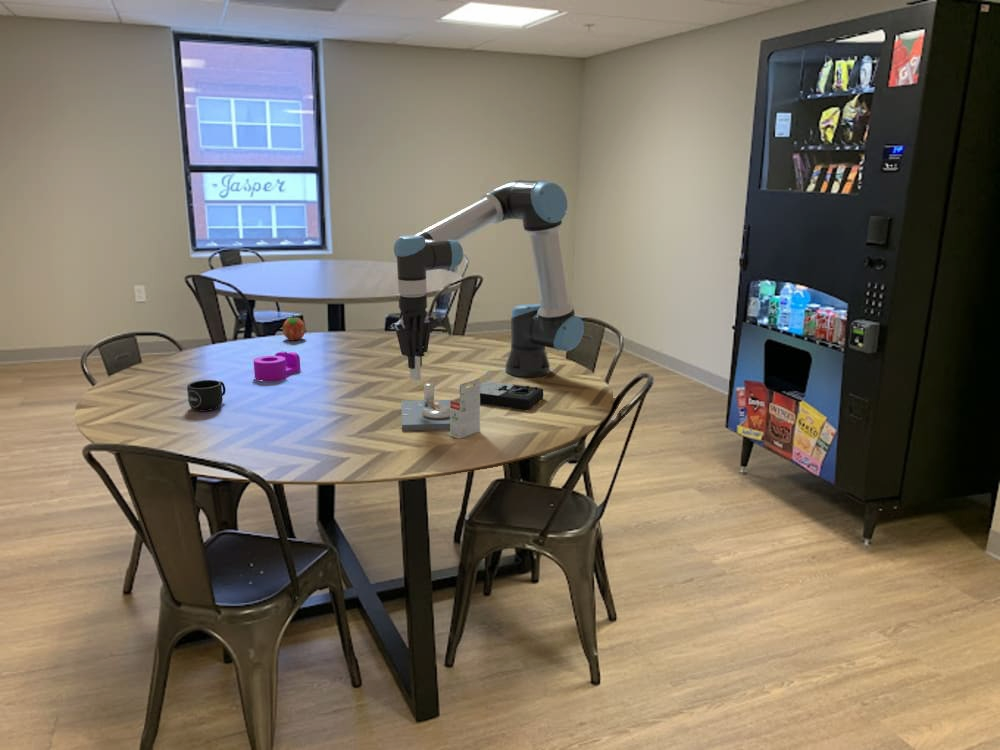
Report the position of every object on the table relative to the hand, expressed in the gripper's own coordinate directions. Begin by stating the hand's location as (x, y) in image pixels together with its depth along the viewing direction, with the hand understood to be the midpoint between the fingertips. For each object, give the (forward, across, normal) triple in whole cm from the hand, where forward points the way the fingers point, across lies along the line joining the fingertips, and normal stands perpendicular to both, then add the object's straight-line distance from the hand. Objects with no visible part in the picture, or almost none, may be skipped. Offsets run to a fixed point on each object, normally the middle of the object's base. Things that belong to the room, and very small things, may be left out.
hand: (415, 378), depth 208 cm
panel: (+11, -3, +6) cm, 12 cm away
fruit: (+11, -28, -103) cm, 108 cm away
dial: (+9, -2, +5) cm, 11 cm away
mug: (+10, +37, -47) cm, 60 cm away
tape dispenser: (+11, +6, -63) cm, 64 cm away
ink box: (+11, +2, +21) cm, 23 cm away
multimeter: (+12, -28, +9) cm, 31 cm away
